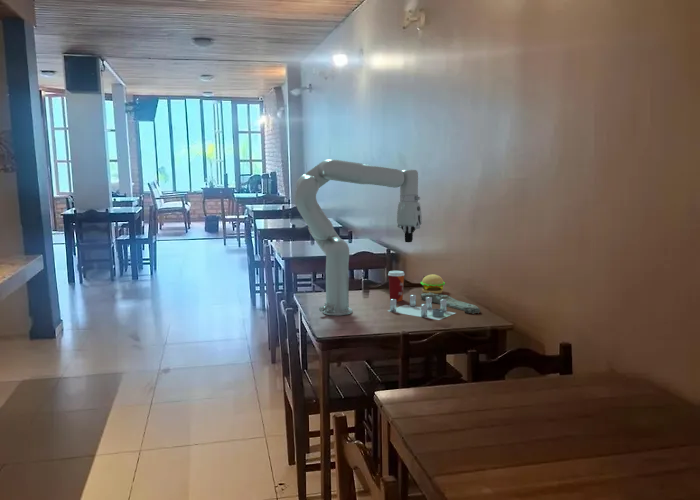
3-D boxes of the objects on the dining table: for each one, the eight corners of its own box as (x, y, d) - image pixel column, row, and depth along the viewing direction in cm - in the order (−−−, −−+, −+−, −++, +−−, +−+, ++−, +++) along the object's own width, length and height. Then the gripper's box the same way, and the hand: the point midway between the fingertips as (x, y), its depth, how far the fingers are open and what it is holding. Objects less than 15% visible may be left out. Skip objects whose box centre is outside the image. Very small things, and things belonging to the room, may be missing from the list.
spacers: (429, 318, 234) (429, 306, 233) (388, 311, 246) (388, 299, 246) (447, 311, 245) (447, 299, 245) (407, 304, 258) (408, 293, 257)
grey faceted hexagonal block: (442, 317, 235) (442, 311, 235) (429, 316, 237) (430, 310, 237) (445, 315, 239) (445, 309, 239) (433, 313, 241) (433, 308, 241)
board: (439, 322, 232) (439, 319, 232) (386, 313, 247) (386, 310, 247) (456, 315, 243) (456, 313, 243) (405, 306, 258) (405, 304, 258)
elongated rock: (468, 319, 243) (485, 317, 248) (469, 307, 242) (486, 305, 247) (414, 299, 271) (430, 297, 277) (415, 288, 271) (431, 286, 276)
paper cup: (405, 304, 264) (405, 273, 262) (388, 304, 264) (388, 273, 262) (404, 300, 272) (404, 270, 270) (387, 300, 272) (387, 270, 270)
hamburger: (447, 294, 283) (447, 276, 282) (422, 294, 283) (422, 277, 282) (442, 289, 295) (443, 272, 294) (418, 289, 295) (419, 272, 294)
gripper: (428, 199, 247) (428, 242, 250) (399, 198, 256) (398, 239, 259) (419, 199, 241) (418, 244, 244) (389, 198, 251) (389, 241, 253)
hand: (408, 241), depth 251 cm, fingers closed
